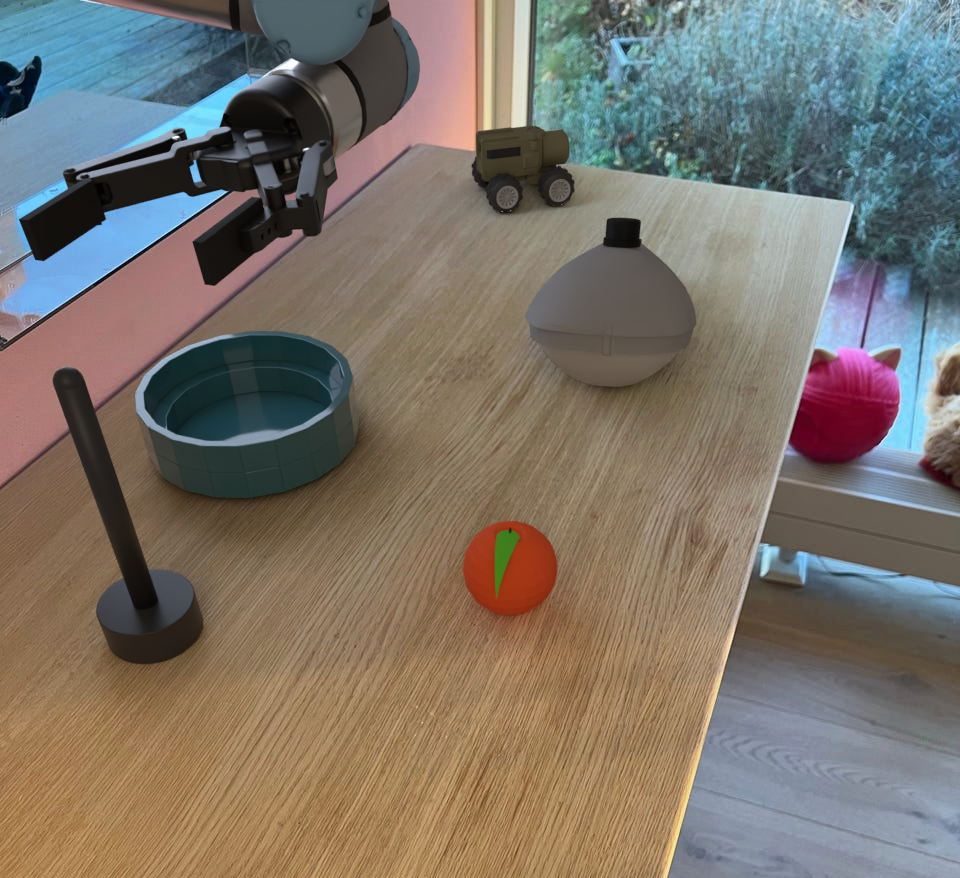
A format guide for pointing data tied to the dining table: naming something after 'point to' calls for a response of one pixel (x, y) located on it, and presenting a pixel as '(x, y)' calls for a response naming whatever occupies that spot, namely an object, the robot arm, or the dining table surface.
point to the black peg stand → (127, 551)
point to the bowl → (248, 413)
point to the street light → (613, 311)
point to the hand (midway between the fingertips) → (113, 252)
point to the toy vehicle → (522, 165)
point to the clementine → (510, 567)
